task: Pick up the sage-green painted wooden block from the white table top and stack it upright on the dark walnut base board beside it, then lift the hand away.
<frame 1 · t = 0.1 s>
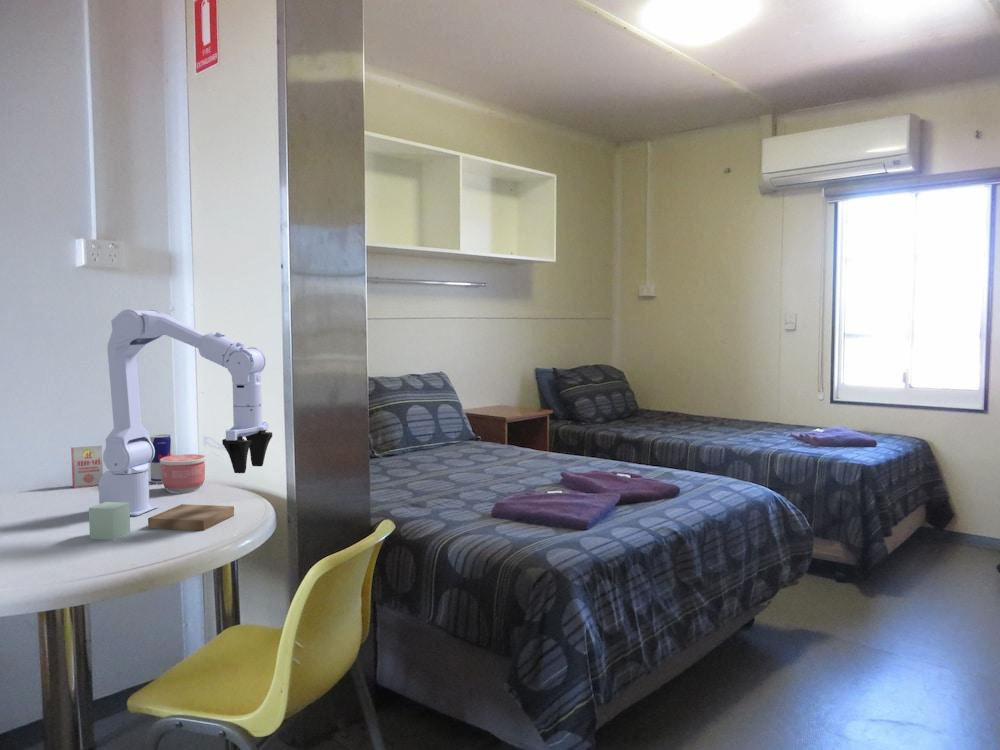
hand: (248, 469, 162), 10 cm above the table, fingers open, 7 cm apart
container: (184, 490, 189), on the table
walnut base: (192, 521, 158), on the table
sage block: (110, 535, 148), on the table
energy drink: (162, 482, 198), on the table
printed cream box: (88, 486, 194), on the table
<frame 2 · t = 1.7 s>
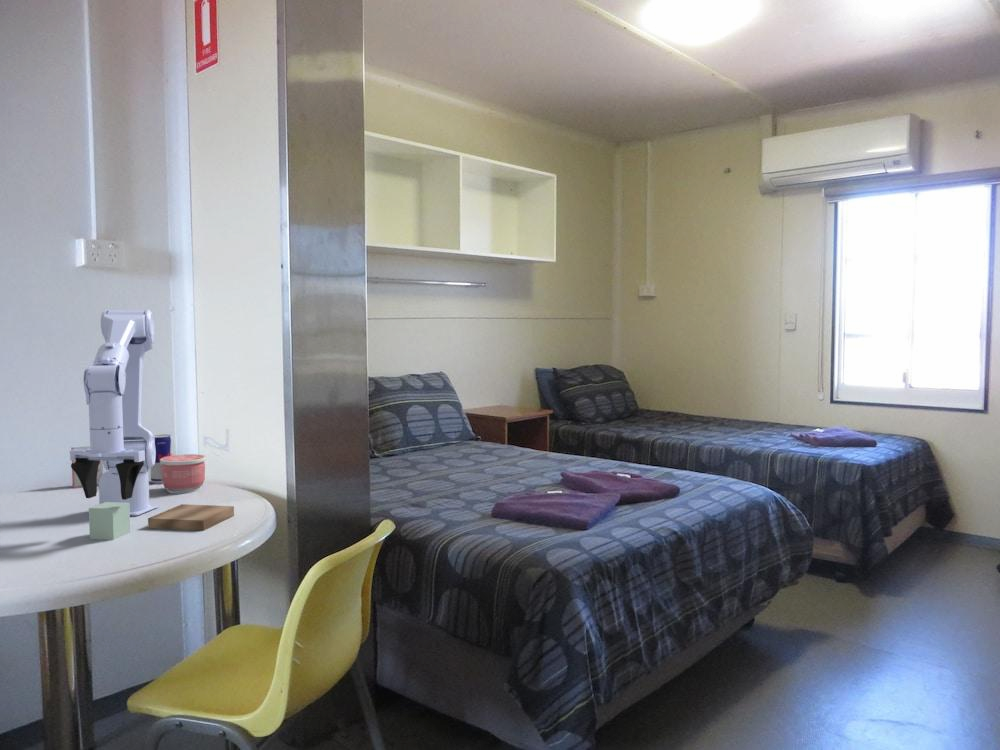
hand: (108, 497, 147), 7 cm above the table, fingers open, 7 cm apart
nothing on the table moved.
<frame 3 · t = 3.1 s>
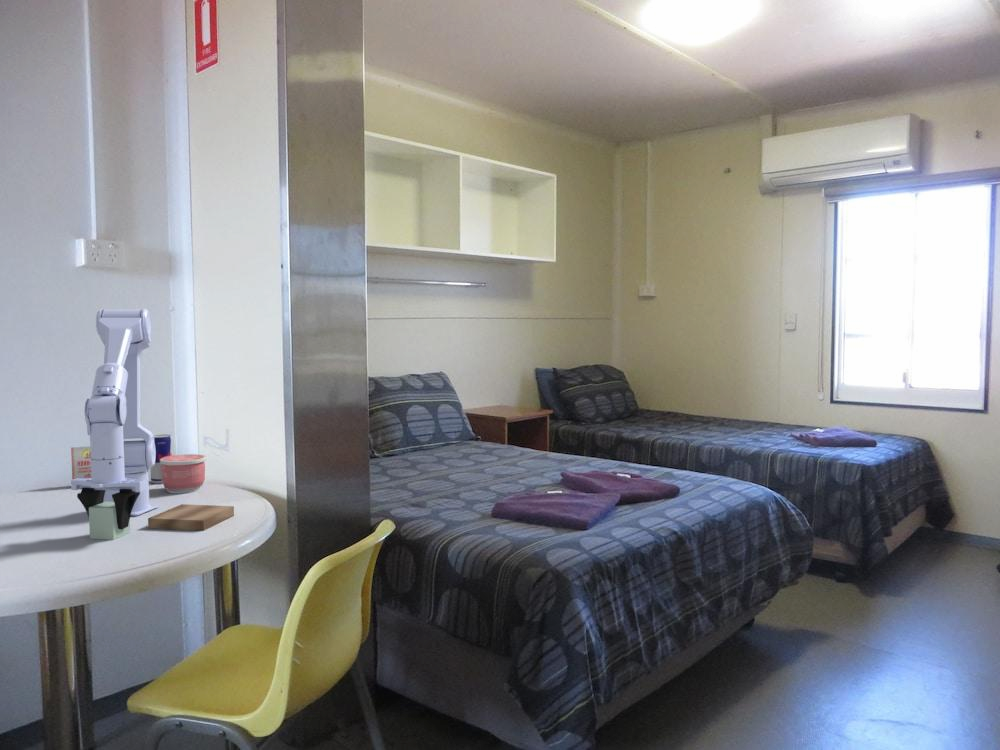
hand: (110, 527, 148), 2 cm above the table, fingers closed on sage block, 5 cm apart
sage block: (110, 535, 148), on the table, touching gripper
everything else where it was.
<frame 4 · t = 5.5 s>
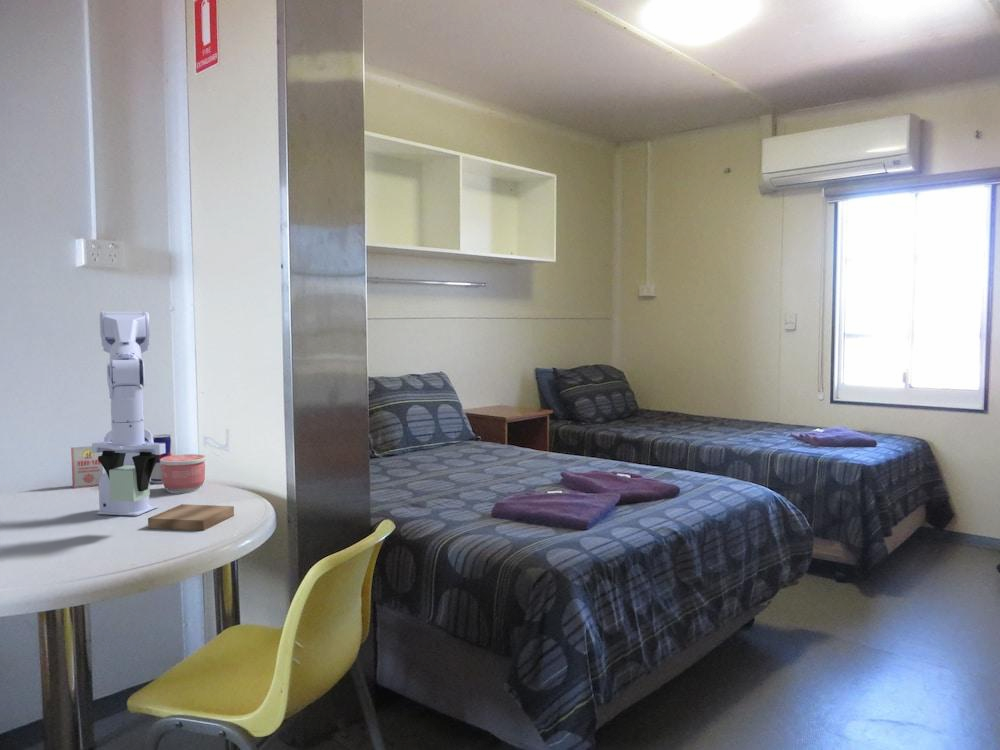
hand: (130, 489, 150), 8 cm above the table, fingers closed on sage block, 5 cm apart
sage block: (130, 498, 150), point 7 cm above the table, touching gripper
everything else where it was.
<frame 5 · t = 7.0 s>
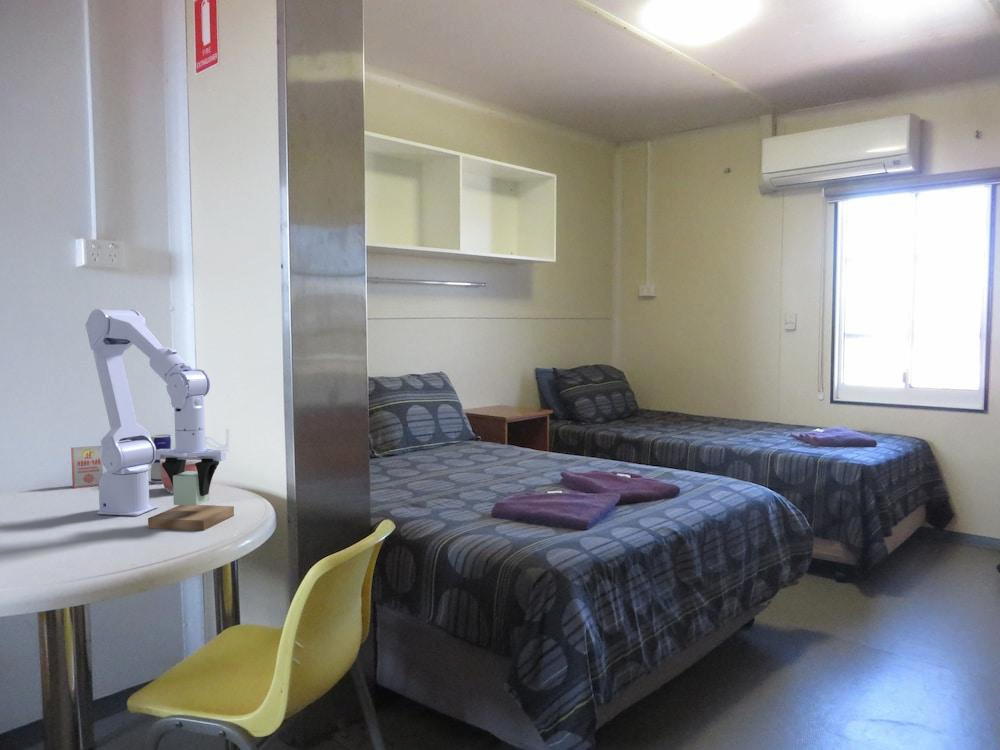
hand: (191, 494, 158), 6 cm above the table, fingers closed on sage block, 5 cm apart
sage block: (191, 502, 158), point 4 cm above the table, touching gripper
everything else where it was.
when the fingers open (5 cm above the table, at t = 8.2 s): sage block stays where it is, resting on walnut base.
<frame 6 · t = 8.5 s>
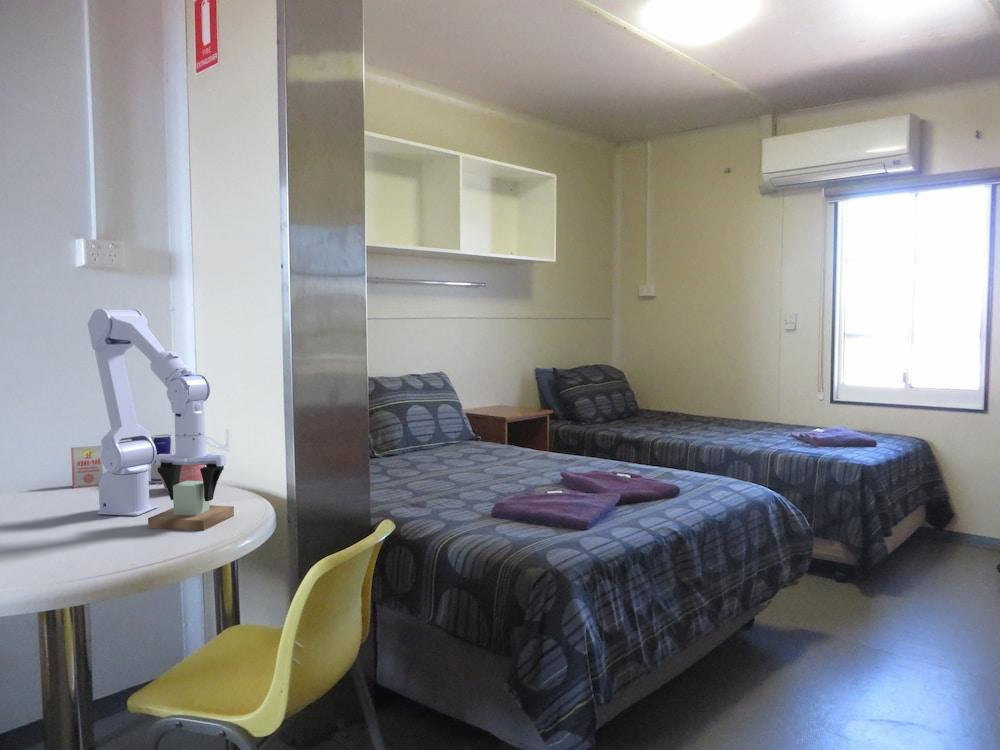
hand: (191, 499, 158), 5 cm above the table, fingers open, 7 cm apart
sage block: (191, 512, 158), point 2 cm above the table, touching walnut base
everything else where it was.
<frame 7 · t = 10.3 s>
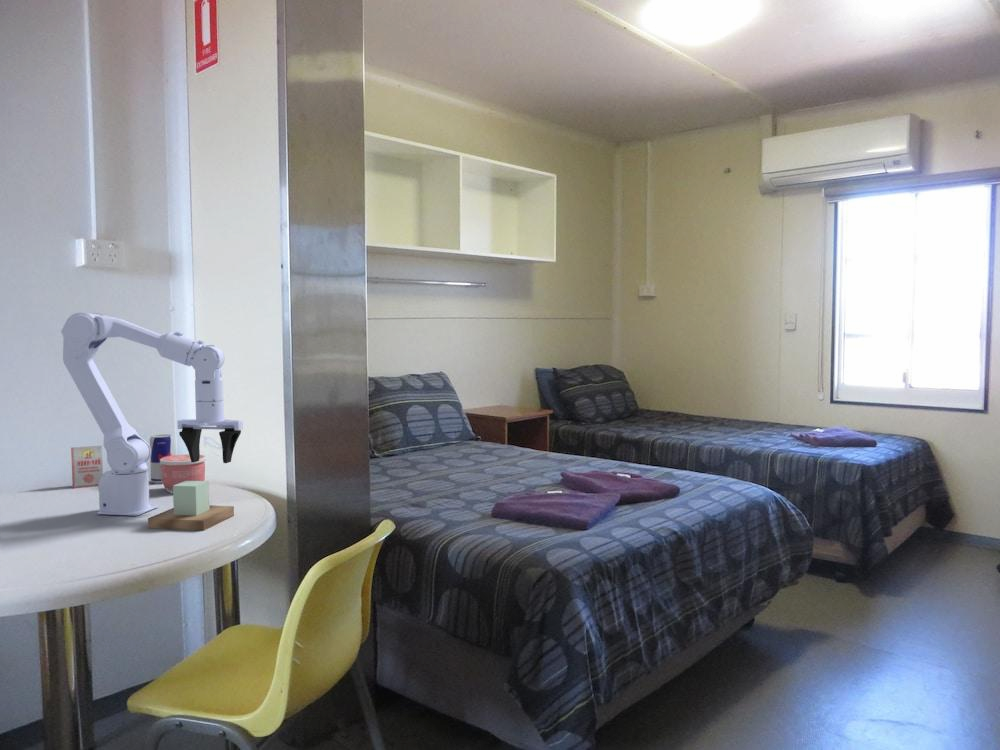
hand: (211, 462, 169), 10 cm above the table, fingers open, 7 cm apart
nothing on the table moved.
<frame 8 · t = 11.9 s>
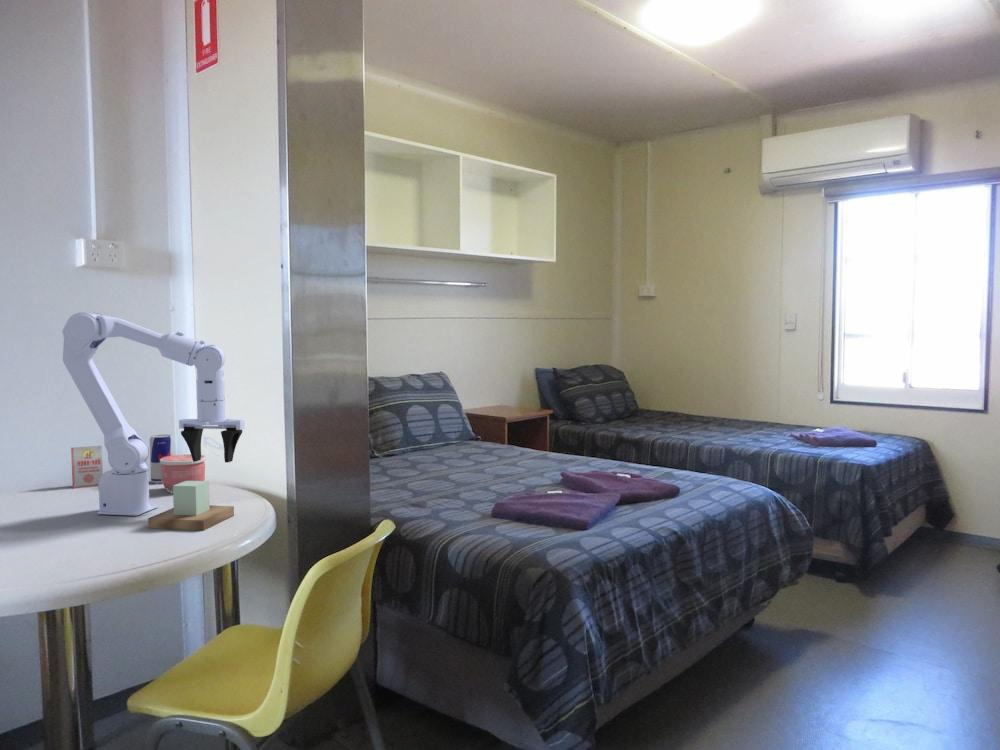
hand: (212, 461, 170), 10 cm above the table, fingers open, 7 cm apart
nothing on the table moved.
at the end: sage block inside the target area on the walnut base (0.0 cm from its centre), point 2.0 cm above the walnut base's base; sage block tilted 0°; the gripper is holding nothing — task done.
